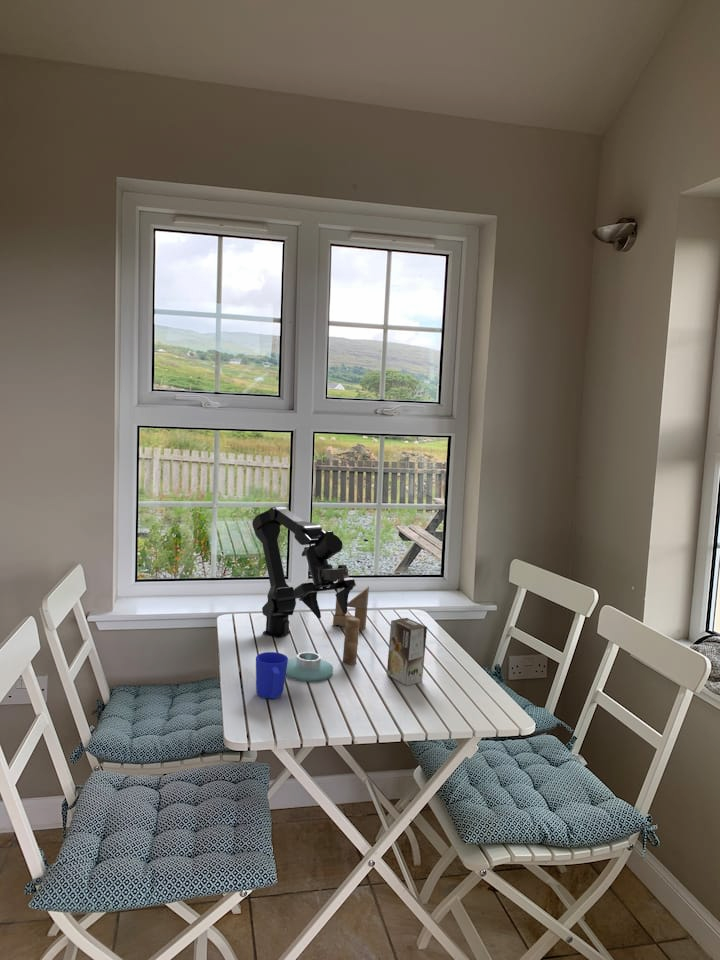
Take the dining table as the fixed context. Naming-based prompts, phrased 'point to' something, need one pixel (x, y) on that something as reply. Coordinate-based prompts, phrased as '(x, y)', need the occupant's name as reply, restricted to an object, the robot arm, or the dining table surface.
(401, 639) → the coffee box
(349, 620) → the dowel
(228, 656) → the dining table surface
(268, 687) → the mug
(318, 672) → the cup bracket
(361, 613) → the wooden block
